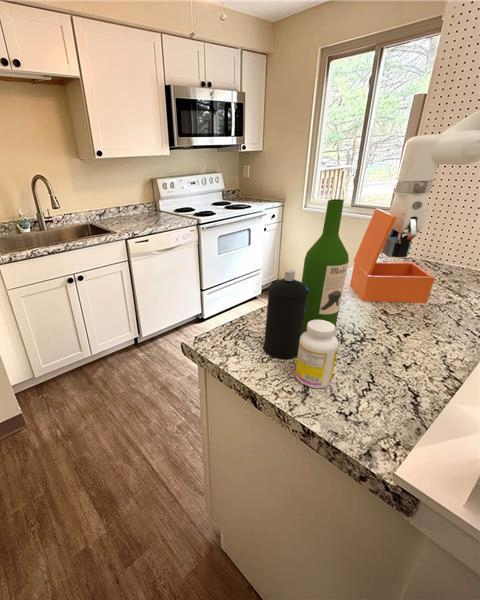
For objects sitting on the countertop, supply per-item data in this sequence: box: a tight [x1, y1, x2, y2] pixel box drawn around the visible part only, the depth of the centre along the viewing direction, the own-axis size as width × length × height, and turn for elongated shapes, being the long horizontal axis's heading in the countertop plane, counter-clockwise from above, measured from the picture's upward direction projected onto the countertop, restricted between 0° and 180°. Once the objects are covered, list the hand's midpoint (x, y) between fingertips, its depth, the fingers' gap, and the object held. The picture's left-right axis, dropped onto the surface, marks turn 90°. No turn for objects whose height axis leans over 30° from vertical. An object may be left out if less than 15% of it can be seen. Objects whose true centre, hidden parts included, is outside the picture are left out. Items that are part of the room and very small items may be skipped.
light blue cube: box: [381, 236, 413, 258], centre depth 88 cm, size 5×5×5 cm
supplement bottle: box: [294, 320, 339, 389], centre depth 61 cm, size 7×7×13 cm
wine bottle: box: [301, 198, 350, 335], centre depth 73 cm, size 9×9×32 cm
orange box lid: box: [353, 208, 397, 275], centre depth 89 cm, size 16×13×1 cm
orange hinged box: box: [349, 261, 436, 304], centre depth 93 cm, size 16×13×8 cm
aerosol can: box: [262, 269, 309, 360], centre depth 70 cm, size 8×8×20 cm
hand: (394, 253), depth 89 cm, fingers closed on light blue cube, 4 cm apart
